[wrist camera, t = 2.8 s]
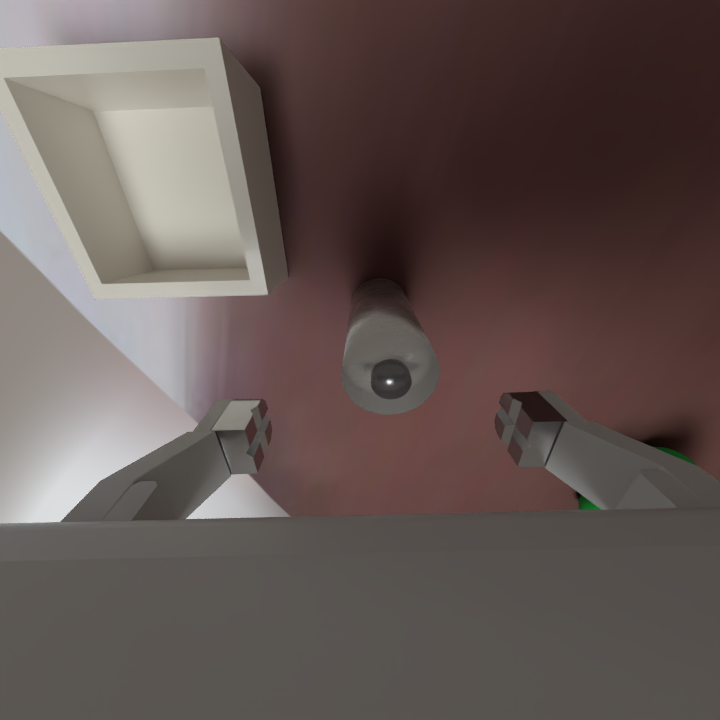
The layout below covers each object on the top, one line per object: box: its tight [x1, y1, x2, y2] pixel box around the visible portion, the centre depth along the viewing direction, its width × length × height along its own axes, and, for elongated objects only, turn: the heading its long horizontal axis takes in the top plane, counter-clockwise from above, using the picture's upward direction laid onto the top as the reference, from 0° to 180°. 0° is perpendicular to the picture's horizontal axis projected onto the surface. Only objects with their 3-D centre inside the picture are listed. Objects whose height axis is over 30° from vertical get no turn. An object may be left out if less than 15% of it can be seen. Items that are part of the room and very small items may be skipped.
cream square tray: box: [0, 37, 289, 299], centre depth 14 cm, size 10×10×4 cm
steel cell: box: [342, 278, 440, 414], centre depth 15 cm, size 4×4×10 cm
